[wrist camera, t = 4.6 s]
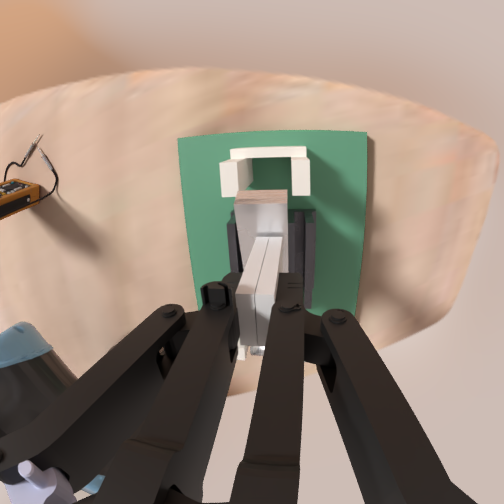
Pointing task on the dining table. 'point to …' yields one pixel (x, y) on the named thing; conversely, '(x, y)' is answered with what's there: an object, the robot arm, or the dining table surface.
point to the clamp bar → (261, 225)
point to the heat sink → (298, 248)
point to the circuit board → (299, 197)
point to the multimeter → (20, 191)
